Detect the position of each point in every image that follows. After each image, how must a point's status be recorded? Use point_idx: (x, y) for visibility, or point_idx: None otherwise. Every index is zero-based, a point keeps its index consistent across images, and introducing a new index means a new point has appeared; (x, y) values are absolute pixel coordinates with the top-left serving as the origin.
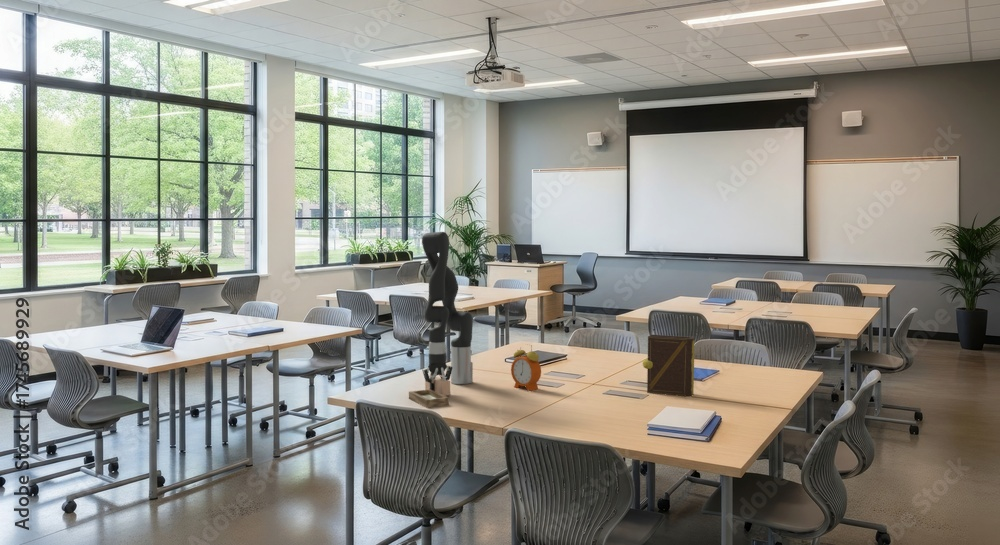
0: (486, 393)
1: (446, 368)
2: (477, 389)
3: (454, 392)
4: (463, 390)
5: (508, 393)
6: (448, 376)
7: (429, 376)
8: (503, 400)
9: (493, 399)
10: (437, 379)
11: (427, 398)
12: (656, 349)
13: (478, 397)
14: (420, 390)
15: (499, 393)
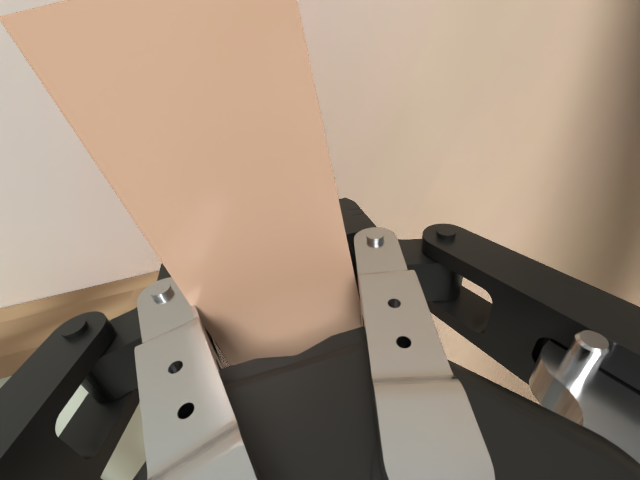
0: (554, 266)
1: (569, 408)
2: (609, 138)
3: (419, 186)
4: (516, 135)
5: (619, 286)
6: (456, 320)
7: (158, 20)
8: (505, 387)
9: (488, 374)
10: (276, 341)
11: (128, 423)
12: None
13: (461, 339)
14: (27, 356)
15: (595, 279)
